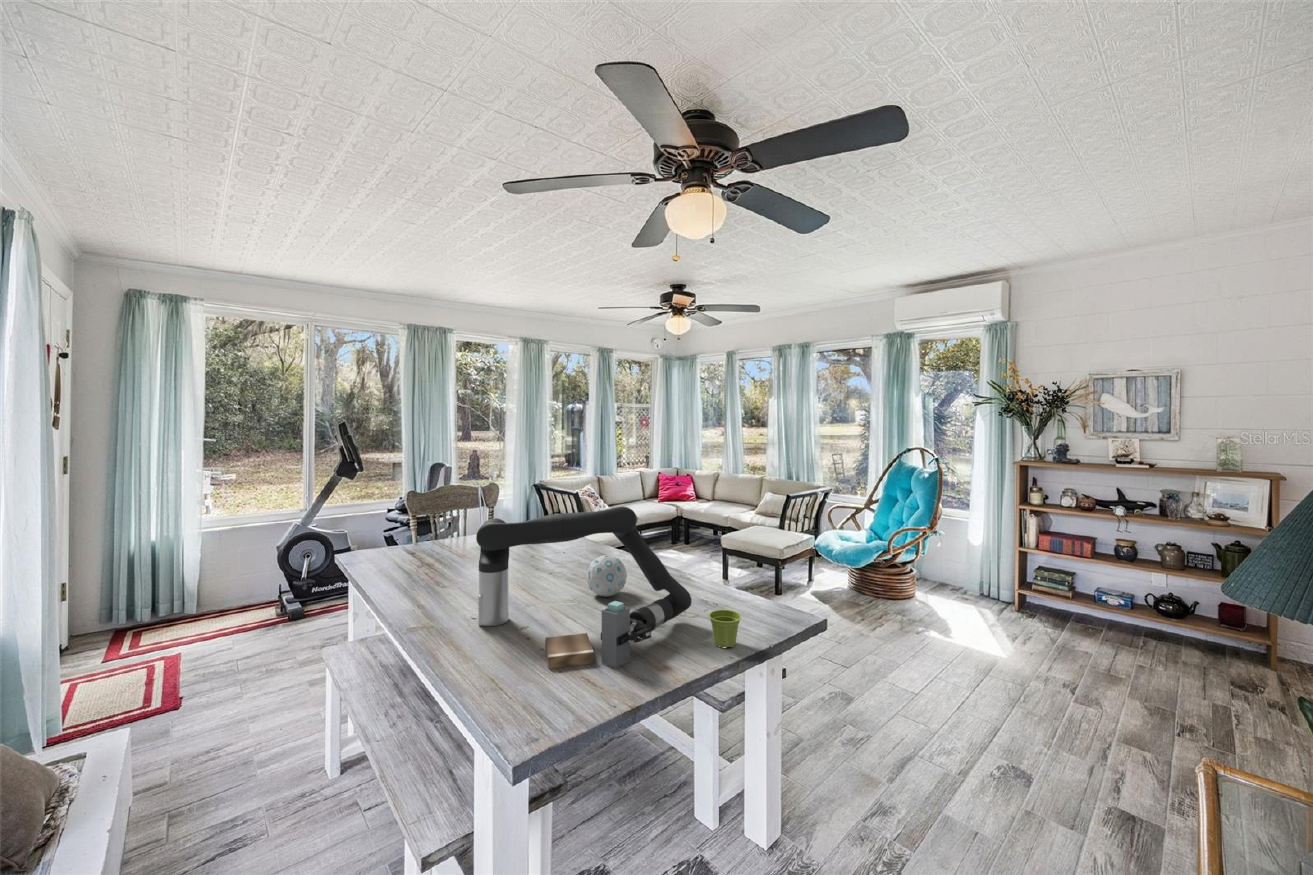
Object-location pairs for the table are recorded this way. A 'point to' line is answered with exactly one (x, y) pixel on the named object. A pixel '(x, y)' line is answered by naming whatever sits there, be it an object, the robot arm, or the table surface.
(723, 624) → the plant pot
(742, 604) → the table surface
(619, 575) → the puzzle ball
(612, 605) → the block
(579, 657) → the block
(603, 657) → the carrier
